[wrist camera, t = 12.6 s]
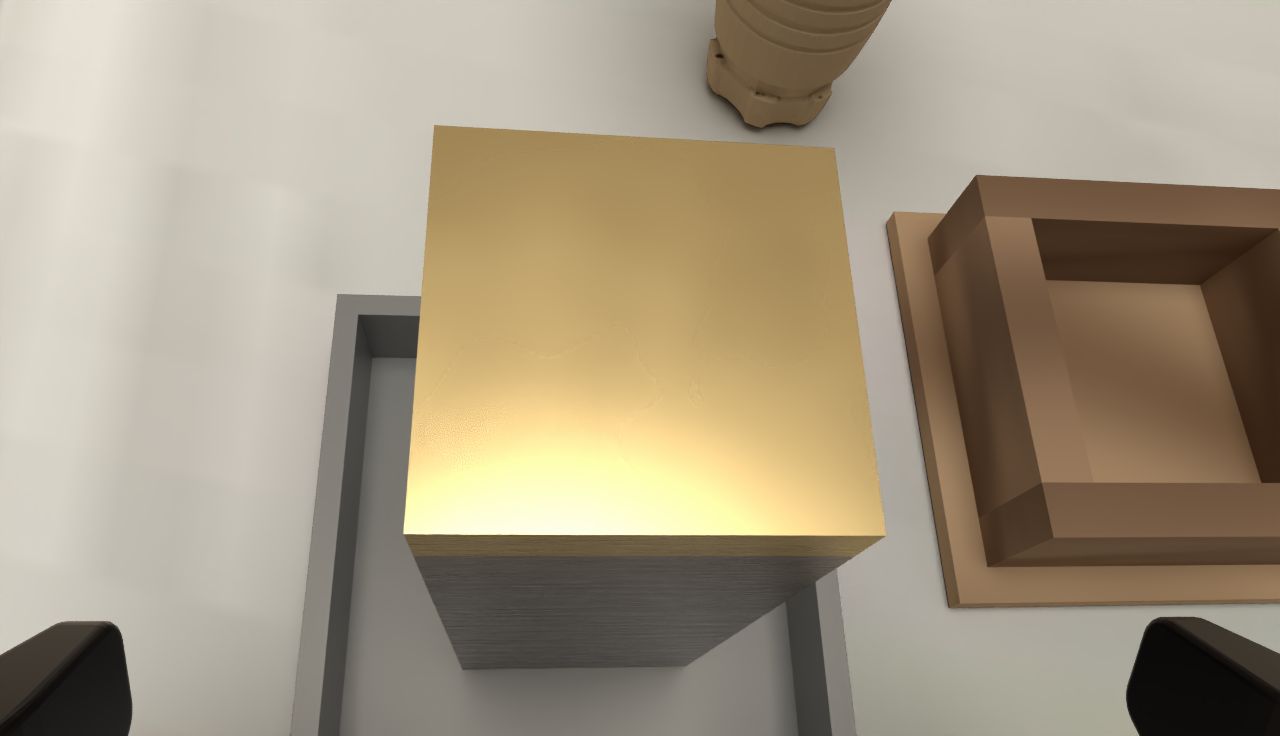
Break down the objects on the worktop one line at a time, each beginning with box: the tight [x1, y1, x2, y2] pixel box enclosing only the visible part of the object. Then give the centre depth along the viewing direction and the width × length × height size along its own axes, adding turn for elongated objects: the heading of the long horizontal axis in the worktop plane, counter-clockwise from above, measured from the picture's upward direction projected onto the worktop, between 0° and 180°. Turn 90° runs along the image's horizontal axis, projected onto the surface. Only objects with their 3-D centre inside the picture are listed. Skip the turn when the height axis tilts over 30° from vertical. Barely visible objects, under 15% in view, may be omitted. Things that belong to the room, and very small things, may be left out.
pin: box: [404, 125, 886, 670], centre depth 13 cm, size 4×4×10 cm
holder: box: [886, 175, 1280, 608], centre depth 20 cm, size 9×9×3 cm
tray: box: [290, 294, 856, 736], centre depth 17 cm, size 9×9×2 cm
